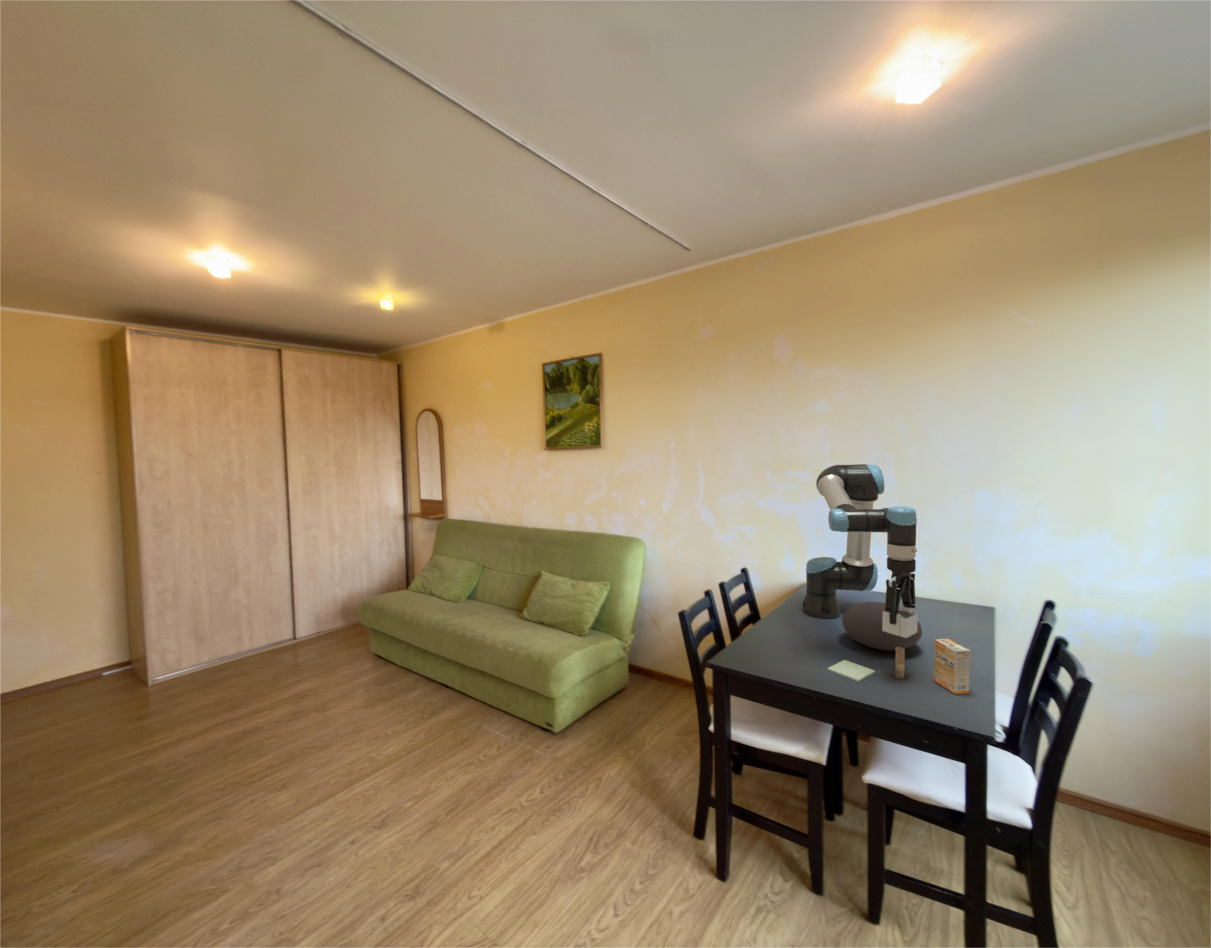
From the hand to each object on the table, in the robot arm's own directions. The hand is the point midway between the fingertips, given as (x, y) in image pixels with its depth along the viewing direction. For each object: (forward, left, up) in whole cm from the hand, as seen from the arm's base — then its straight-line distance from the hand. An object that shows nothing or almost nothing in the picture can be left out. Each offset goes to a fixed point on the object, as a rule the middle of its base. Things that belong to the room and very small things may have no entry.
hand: (900, 630), depth 151 cm
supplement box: (+12, +5, -15) cm, 20 cm away
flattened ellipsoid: (-15, +19, -15) cm, 28 cm away
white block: (0, 0, 0) cm, 0 cm away
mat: (-11, -8, -15) cm, 20 cm away
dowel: (0, 0, -15) cm, 15 cm away
